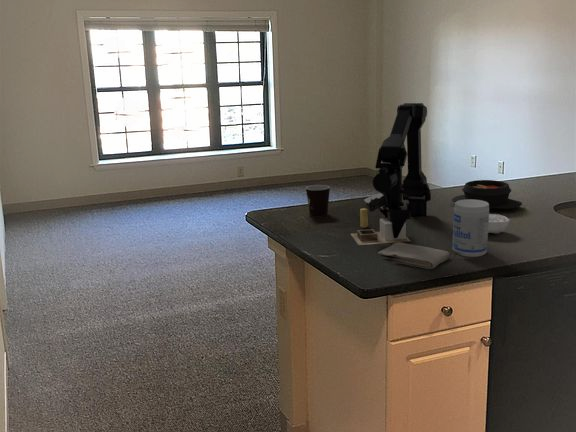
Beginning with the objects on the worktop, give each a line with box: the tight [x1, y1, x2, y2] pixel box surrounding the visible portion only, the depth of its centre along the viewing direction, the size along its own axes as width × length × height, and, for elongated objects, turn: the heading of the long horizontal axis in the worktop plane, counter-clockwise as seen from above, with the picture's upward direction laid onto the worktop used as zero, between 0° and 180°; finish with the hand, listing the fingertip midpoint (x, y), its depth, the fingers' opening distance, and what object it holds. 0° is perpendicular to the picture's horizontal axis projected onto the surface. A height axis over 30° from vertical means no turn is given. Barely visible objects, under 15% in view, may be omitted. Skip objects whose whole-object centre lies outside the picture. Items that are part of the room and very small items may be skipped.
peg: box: [359, 207, 369, 229], centre depth 208 cm, size 2×2×7 cm
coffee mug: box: [305, 184, 330, 218], centre depth 231 cm, size 12×9×10 cm
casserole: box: [451, 179, 523, 211], centre depth 230 cm, size 25×19×8 cm
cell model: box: [488, 213, 511, 235], centre depth 199 cm, size 10×12×7 cm
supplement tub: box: [451, 199, 490, 258], centre depth 180 cm, size 10×10×15 cm
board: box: [350, 228, 411, 246], centre depth 196 cm, size 16×12×5 cm
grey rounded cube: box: [379, 218, 407, 240], centre depth 196 cm, size 6×6×5 cm
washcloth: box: [377, 242, 451, 270], centre depth 180 cm, size 12×18×3 cm, turn 52°
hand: (392, 234), depth 196 cm, fingers closed on grey rounded cube, 6 cm apart
